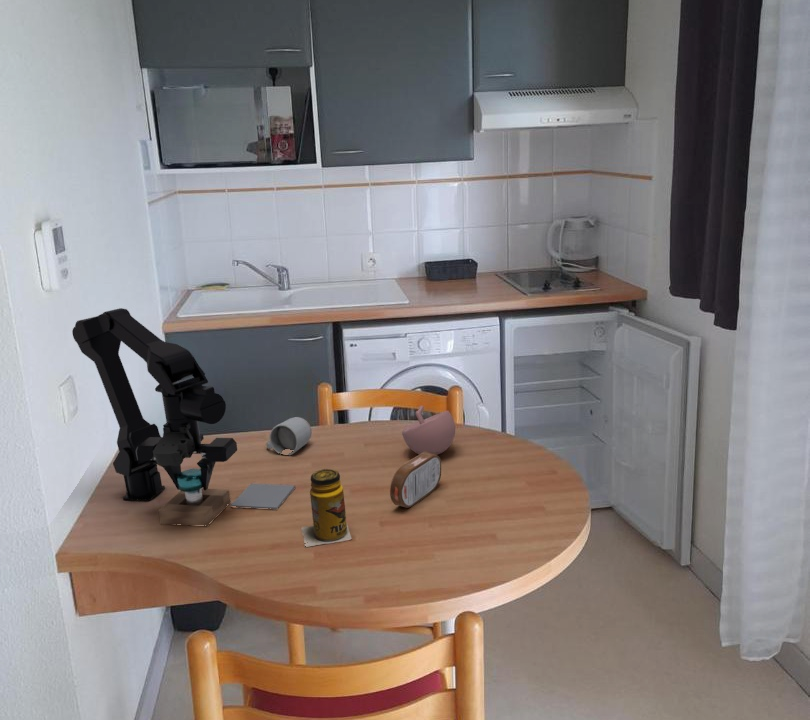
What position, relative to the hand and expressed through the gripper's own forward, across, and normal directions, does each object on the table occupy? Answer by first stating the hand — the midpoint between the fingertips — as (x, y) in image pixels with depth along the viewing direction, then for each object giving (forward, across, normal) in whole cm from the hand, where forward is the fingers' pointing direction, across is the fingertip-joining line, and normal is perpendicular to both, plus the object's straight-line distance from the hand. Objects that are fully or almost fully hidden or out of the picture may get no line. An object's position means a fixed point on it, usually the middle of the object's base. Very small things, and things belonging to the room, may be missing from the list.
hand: (192, 489), depth 147 cm
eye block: (+5, 0, 0) cm, 5 cm away
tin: (+6, +43, +9) cm, 45 cm away
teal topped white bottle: (+5, 0, 0) cm, 5 cm away
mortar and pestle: (+6, +42, +31) cm, 53 cm away
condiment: (+6, +29, -6) cm, 30 cm away
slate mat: (+5, +11, +8) cm, 15 cm away
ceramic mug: (+6, +8, +33) cm, 34 cm away
